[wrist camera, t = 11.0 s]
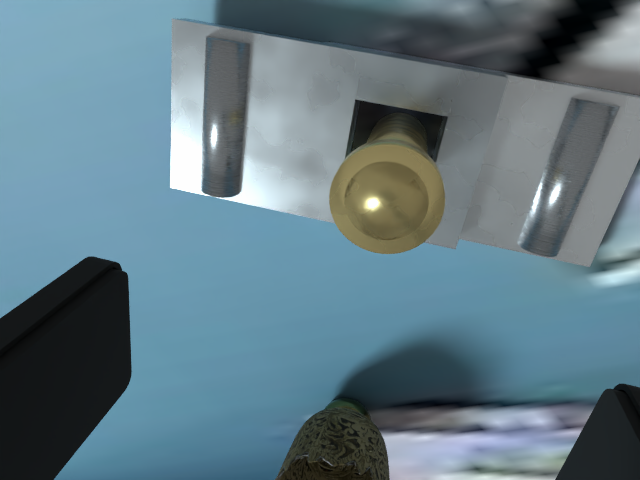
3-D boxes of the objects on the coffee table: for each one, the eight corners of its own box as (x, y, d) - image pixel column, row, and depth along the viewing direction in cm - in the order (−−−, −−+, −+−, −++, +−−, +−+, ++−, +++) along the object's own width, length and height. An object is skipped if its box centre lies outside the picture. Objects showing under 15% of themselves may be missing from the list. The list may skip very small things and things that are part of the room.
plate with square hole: (651, 97, 24) (692, 112, 20) (581, 254, 28) (605, 290, 24) (197, 18, 27) (161, 18, 23) (192, 172, 31) (161, 193, 27)
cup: (370, 361, 34) (356, 453, 27) (414, 436, 36) (411, 539, 29) (283, 389, 37) (249, 478, 30) (328, 456, 39) (307, 555, 32)
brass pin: (447, 109, 26) (459, 158, 17) (427, 185, 28) (428, 264, 19) (367, 94, 27) (338, 134, 18) (353, 170, 28) (321, 240, 20)
